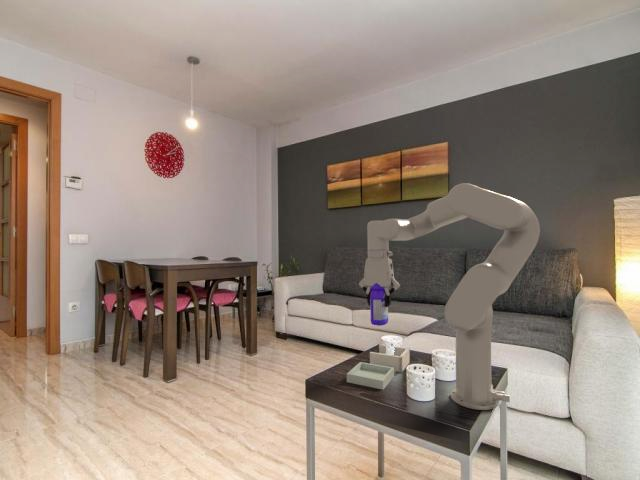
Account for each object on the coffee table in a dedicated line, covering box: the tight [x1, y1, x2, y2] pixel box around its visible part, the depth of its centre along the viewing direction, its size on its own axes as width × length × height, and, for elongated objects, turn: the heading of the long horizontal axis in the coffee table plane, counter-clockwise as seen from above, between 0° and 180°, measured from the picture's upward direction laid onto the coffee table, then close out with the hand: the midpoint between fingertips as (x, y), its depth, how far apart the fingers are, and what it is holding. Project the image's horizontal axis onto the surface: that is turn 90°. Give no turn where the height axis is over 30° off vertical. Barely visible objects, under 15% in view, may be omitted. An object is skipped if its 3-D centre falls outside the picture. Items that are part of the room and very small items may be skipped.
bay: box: [369, 344, 411, 374], centre depth 128 cm, size 12×12×6 cm
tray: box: [346, 361, 395, 390], centre depth 115 cm, size 13×13×3 cm
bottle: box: [369, 283, 389, 327], centre depth 120 cm, size 7×6×17 cm
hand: (379, 305), depth 120 cm, fingers closed on bottle, 5 cm apart
